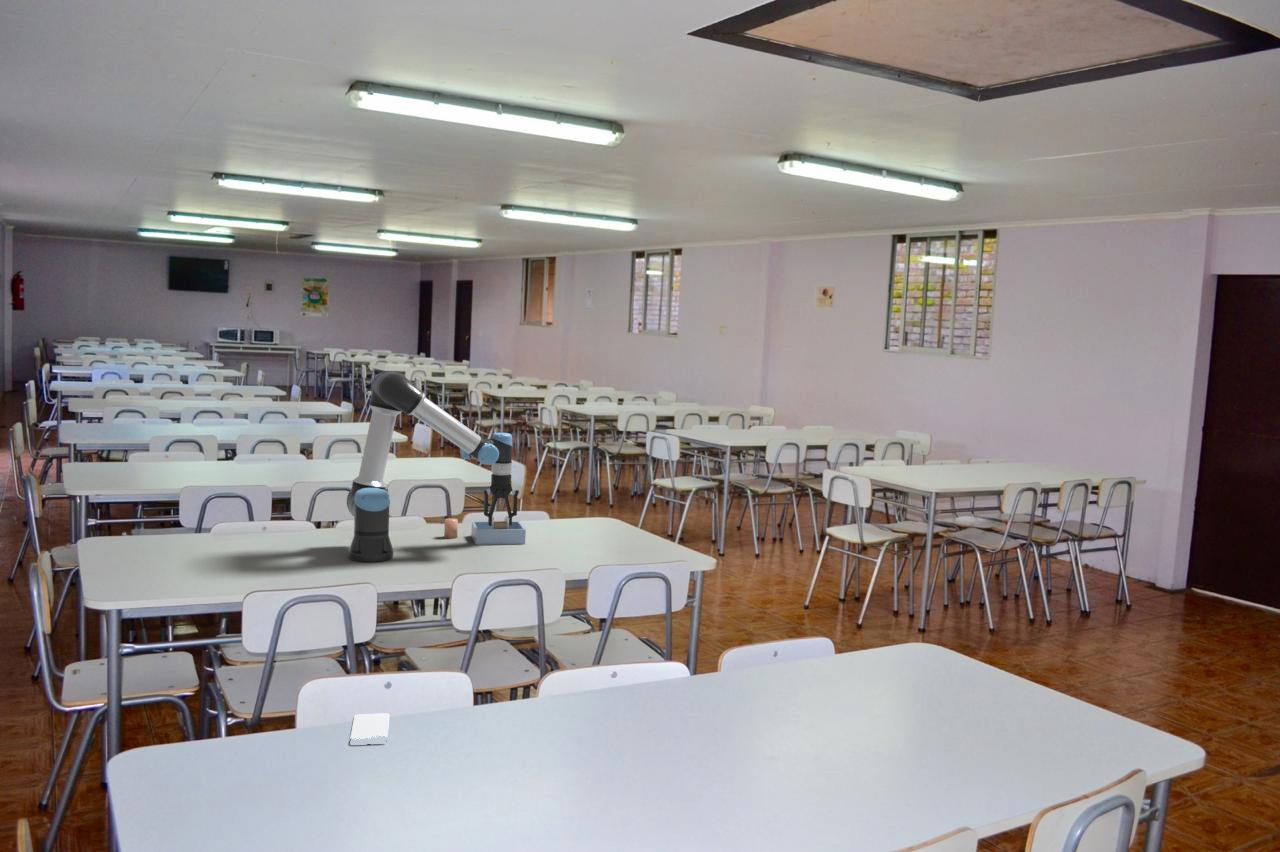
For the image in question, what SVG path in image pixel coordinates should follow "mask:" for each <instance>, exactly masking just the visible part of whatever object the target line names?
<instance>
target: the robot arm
mask: <svg viewBox="0 0 1280 852" xmlns="http://www.w3.org/2000/svg"><path fill="white" fill-rule="evenodd" d="M371 381H372V382H371V385H370V393H371V395H370V400H369V405H368V406H369V408H370V409H371V410H372V412H371V416H370V422H369V425H368V430H367V435H366V438H365V439H366V441H365V445H364V448H363V453H362V454H363V455H362V459H361V463H360V468H359V472H358V476H357V477H356V478H354V479H353V480H352V484H351V488H350V490H349V492H348V494H347V497H346V507H347V509H348V512H349V513H350V514H351V515H352V516H353V517H354V520H353V521H354V522H353V523H354V524H353V526H354V528H353V529H354V530H353V533H354V534H353V537H352V540H351V542H350V543H351V544H350V546H349V549H348V558H349V559H350V560H352V561H356V562H362V563H363V562H365V563H371V562H372V563H374V562H375V563H376V562H385V561H388V560H391V559H393V558H394V548H393V544H392V541H391V537H390V533H389V531H390V504H391V499H390V493H389V492H388V491H387V490H386V487H387V485H386V483H385V482H384V476H385V471H386V467H387V463H388V462H387V461H388V457H389V454H390V453H389V452H390V447H391V443H392V439H393V435H394V430H395V425H396V420H397V417H398V415H400V414H401V413H402V412H403V414H406V415H407V416H411V415H412V416H414V417H415V418H416V419H418V420H419V421H421V423H424V424H425V425H426V426H428V427H429V428H431V429H432V430H433V431H435V432H436V433H438V434H439V435H441V436H442V437H444V438H445V439H446V440H448V441H450V442H451V443H452V444H454V445H455V446H457V447H458V448H459V453H460V456H461V458H462V459H464V460H476V461H478V462H479V463H481V464H482V465H485V466H486V465H487V466H491V479H490V480H491V482H490V486H489V488H487V489H483V490H482V492H483V496H484V497H483V498H484V499H483V515H484V516H485V517H487V519H488V521H487V522H488V524H489V526H491V529H494V521H495V517H494V516H493V515H494V512H495V507H496V505H497V502H498V499H503V500H504V503H505V507H506V512H507V515H508V516H505V521H506V522H507V523H508V529H509V525H512V521H513V518H514V517H516V516H517V515H518V496H519V492H520V491H519V490H518V489H515V488H513V486H512V469H513V468H512V467H513V466H512V465H513V463H512V462H513V459H512V458H513V446H514V445H513V435H512V434H511V433H509V432H494V433H492V437H491V438H482V437H481V436H480V435H479V434H478V433H476V432H475V431H473V430H472V429H471V428H470V427H468V426H466V425H464V424H463V423H462V422H461V421H459V420H458V419H456V418H455V417H454V416H452V415H451V414H449V413H448V412H446V411H445V410H444V409H443V408H442V407H440V406H438V405H437V404H435V403H434V402H433V401H432V400H430V399H428V398H427V397H426V394H425V392H423V391H422V390H421V389H419V388H418V387H417V386H416V385H415V384H413V383H412V381H410V379H408V378H407V377H406V376H404V375H403V374H401V373H398V372H396V371H393V370H392V371H391V370H388V371H382V372H380V373H378V374H377V375H375V377H373V379H372V380H371ZM490 492H491V494H492V495H493V496H492V501H491V505H490V508H489V495H490ZM510 494H512V510H511V506H510V505H511V504H510V501H509V495H510ZM488 510H489V511H488Z"/></svg>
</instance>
